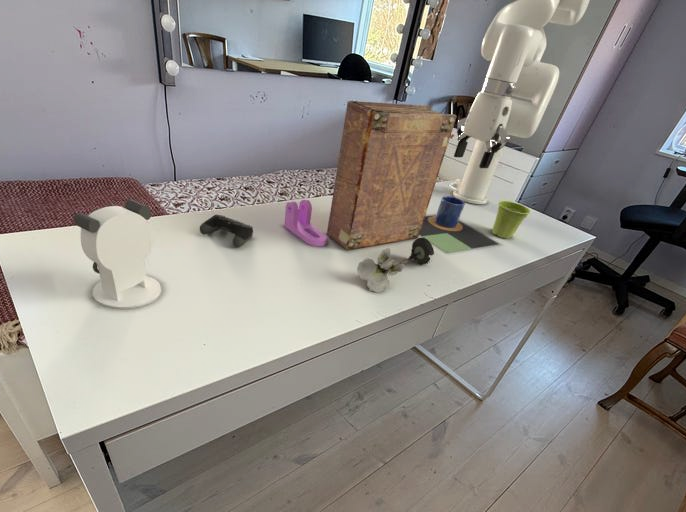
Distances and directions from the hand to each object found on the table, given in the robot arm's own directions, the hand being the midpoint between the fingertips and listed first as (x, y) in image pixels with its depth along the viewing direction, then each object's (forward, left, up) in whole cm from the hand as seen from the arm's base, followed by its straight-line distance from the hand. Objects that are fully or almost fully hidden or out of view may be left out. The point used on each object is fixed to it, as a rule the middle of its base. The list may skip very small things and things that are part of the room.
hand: (470, 162), depth 109 cm
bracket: (-3, -48, -18) cm, 52 cm away
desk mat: (+4, -4, -18) cm, 19 cm away
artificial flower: (+21, -38, -18) cm, 47 cm away
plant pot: (+10, +14, -18) cm, 25 cm away
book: (+2, -30, -18) cm, 35 cm away
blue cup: (-1, 0, -18) cm, 18 cm away
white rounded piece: (+11, -93, -18) cm, 96 cm away
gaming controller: (-6, -68, -18) cm, 71 cm away
